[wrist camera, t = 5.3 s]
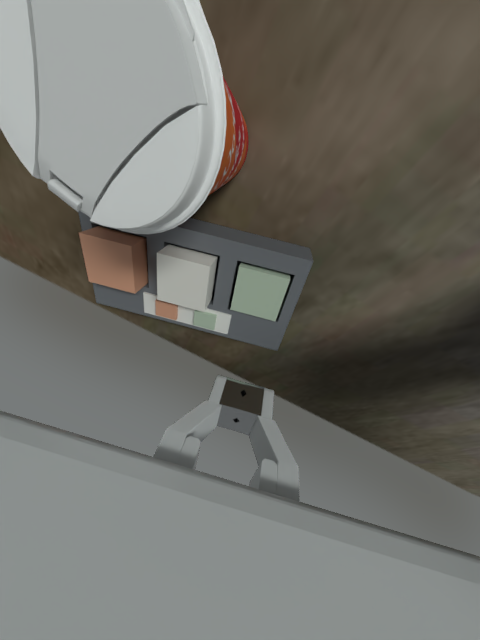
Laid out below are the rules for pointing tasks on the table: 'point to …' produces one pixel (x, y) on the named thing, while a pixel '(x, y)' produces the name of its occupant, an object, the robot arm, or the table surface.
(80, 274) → the table surface
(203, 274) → the key white
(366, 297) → the table surface
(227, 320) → the keypad housing
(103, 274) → the key terracotta
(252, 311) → the key sage
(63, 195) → the paper cup
